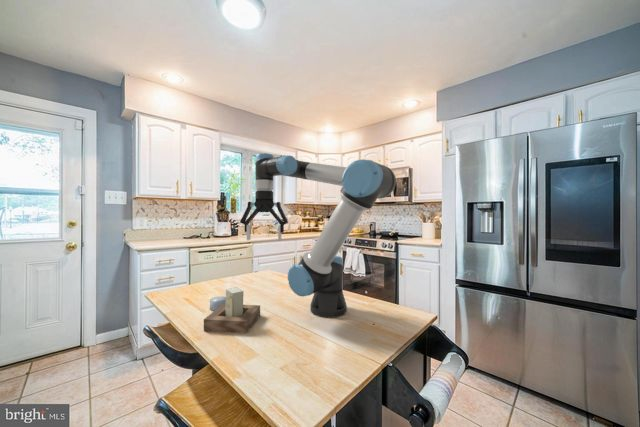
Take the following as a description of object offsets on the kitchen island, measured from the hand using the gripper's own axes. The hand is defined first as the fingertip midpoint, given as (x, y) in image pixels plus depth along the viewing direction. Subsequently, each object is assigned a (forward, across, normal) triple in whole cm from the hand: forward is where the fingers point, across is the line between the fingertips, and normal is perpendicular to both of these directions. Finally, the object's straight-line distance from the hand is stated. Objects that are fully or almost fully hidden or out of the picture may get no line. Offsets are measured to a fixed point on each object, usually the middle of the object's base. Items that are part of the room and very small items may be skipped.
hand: (264, 240), depth 113 cm
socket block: (+29, +6, +17) cm, 34 cm away
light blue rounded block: (+29, +18, +4) cm, 34 cm away
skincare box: (+29, +6, +17) cm, 34 cm away
